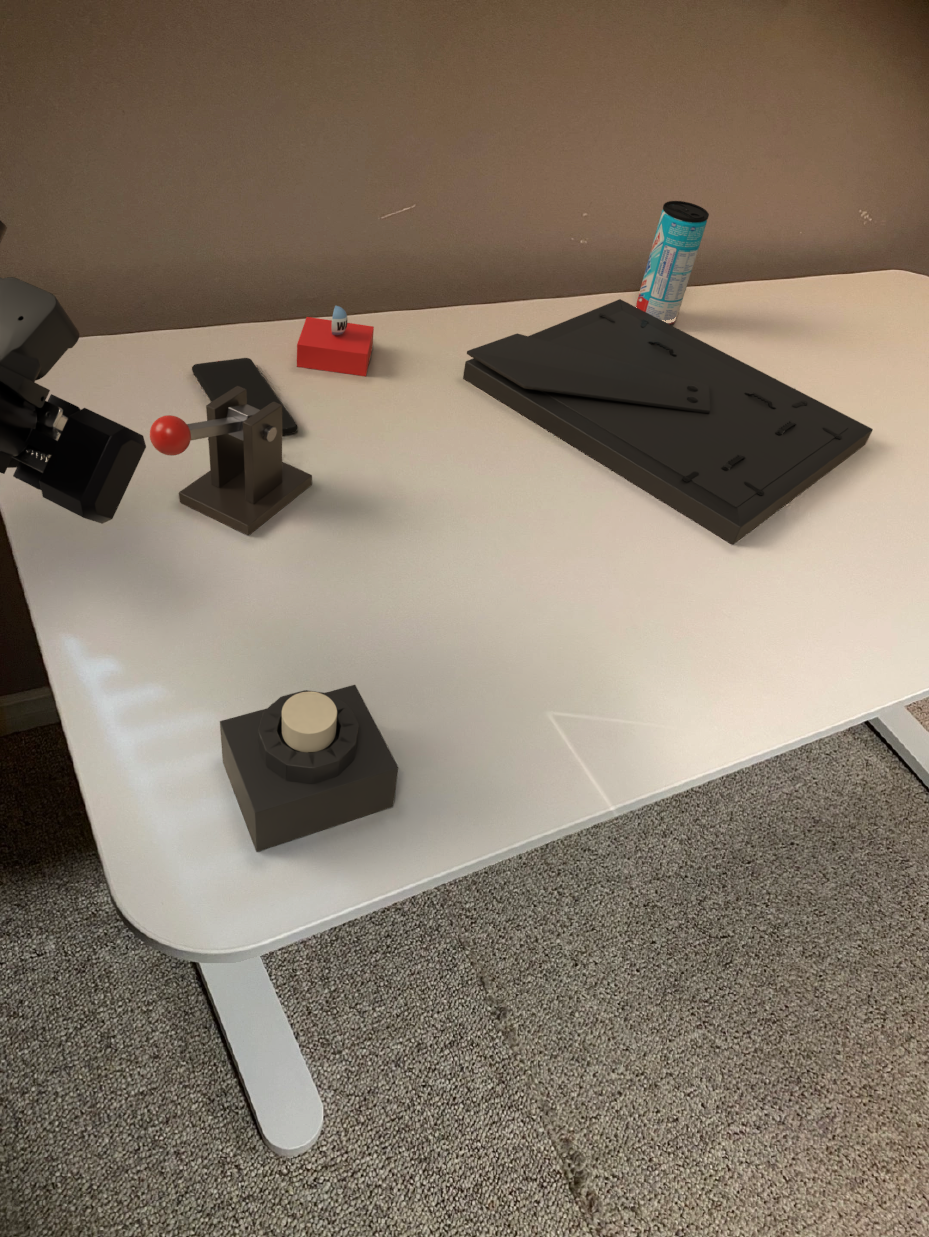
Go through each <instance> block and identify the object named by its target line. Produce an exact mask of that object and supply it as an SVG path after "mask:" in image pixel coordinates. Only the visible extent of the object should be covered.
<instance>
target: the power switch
mask: <svg viewBox="0 0 929 1237" xmlns="http://www.w3.org/2000/svg"><path fill="white" fill-rule="evenodd" d="M258 411H260V410H259V409H256V408H254V407H252V406H250V405H240V406H233V407H229V408H228V412H227V418H221V419H215V420H209V421H207V420H204V421H198V422H197V421H196V422H192V423H186V421H185V420H183V419H182V418H181V417H179V416H176V415H172V414H171V415H170V414H168V415H163V416H160V417H158V418H157V419H156V420H154V421H153V422H152V424H151V426H150V429H149V440H150V443H151V445H152V447H153V448H154V449H155V450H156V451H157V452H159V453H160V454H162V455H165V456H172V457H173V456H179V455H180V454H183V452H185V451H186V450H187V449H188V448H189V446H190V444H191V441H196V440H201V439H206V438H207V439H208V437H212V436H218V435H223V434H229V435H231V436H233V437H236V438H238V439H240V440H242V441H244V440H243V422H244V421H245V420H247V419H248V418H250V417H251V416H253V415H254V414H255V413H257V412H258Z"/></svg>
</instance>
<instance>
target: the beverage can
mask: <svg viewBox="0 0 929 1237" xmlns="http://www.w3.org/2000/svg"><path fill="white" fill-rule="evenodd" d="M709 217H710V214H709V211H707V209H705V208H704V207H702V206H700V205H697V204H695V203H692V202H688V201H682V200H669V201H665V202H664V203H663V204H662V210H661V212H660V217H659V220H658V223H657V226H656V230H655V234H654V237H653V240H652V245H651V249H650V252H649V256H648V258H647V259H648V260H647V263H646V267H645V271H644V274H643V278H642V282H641V285H640V289H639V292H638V295H637V296H638V297H637V300H636V303H635V306H636V307H637V308H638V309H640V310H642V311H644V312H646V313H648V314H650V315H652V316H654V317H656V318H658V319H660V320H665V321H666V320H670V319H671V320H672V319H674V318H675V317H677V318H678V316H679V312H680V310H681V306H682V304H683V300H684V296H685V294H686V291H687V287H688V283H689V281H690V278H691V275H692V272H693V269H694V265H695V262H696V258H697V255H698V252H699V249H700V246H701V242H702V239H703V236H704V233H705V229H706V226H707V223H708V219H709ZM676 321H677V319H676V320H675V321H674V322H671V323H668V324H669V325H671V326H674V324H675V323H676Z"/></svg>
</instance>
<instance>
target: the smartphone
mask: <svg viewBox="0 0 929 1237" xmlns="http://www.w3.org/2000/svg"><path fill="white" fill-rule="evenodd" d="M191 372H192V374H193V375H194V376H195V378H196V380H197V381H198V383H199V384H200V387H201V388H202V389H203V391H204V393H205V394H206V396H207V398H208V399H209V401H210V403H211V402H212V401H214V400H216V399H217V398H219V397H220V396H222V395H224V394H225V393H227V392H228V391H230V390H232V389H233V388H235V387H237V386H239V387H242V388H244V389H246V398H247V405H250V406H252V407H254V408H256V409H259V410H261V409H263V408H264V407H266V406H267V405H269V404H270V403H272V402H276V403H278V404H280V405H282V436H285V435H290V434H291V435H292V434H295V433H296V432H298V429H299V426H298V424H297V422H296V421H295V419H294V418H293V417H292V415H291V414H290V412H289V411H288V410H287V408H286V407H285V405H284V404H283V402H282V401H281V400H280V398H279V397H278V395H277V393H276V392H275V391H274V389H273V388H272V387H271V386H270V385H271V384H269V383H268V381H267V379H266V378H265V377H264V375H263V374H262V373H261V371H260V369H259V368H258V367H257V366H256V364H255V362H254V361H253V360H252V359H251V358H249V357H241V358H231V359H225V360H224V359H223V360H217V361H210V362H209V361H208V362H201V363H195V364H193V365H192V366H191Z"/></svg>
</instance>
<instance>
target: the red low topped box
mask: <svg viewBox="0 0 929 1237" xmlns="http://www.w3.org/2000/svg"><path fill="white" fill-rule="evenodd" d="M374 329H375V326H373V325H368V324H367V325H366V324H359V323H352V322H348V314H347V312H346V310H345V309H344V308H343V307H341V306H339V305H334V309H333V313H332V318H331V319H324V318H317V317H310V316H306V317H305V320H304V323H303V326H302V329H301V331H300V334H299V338H298V340H297V343H296V368H304V369H312V370H318V371H326V372H331V373H333V372H334V373H339V374H340V373H341V374H347V375H348V374H349V375H354V376H355V375H356V376H361V377H367V374H368V369H369V365H370V359H371V356H372V351H373V347H374V346H373V345H374V344H373V342H374V331H375V330H374Z"/></svg>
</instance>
